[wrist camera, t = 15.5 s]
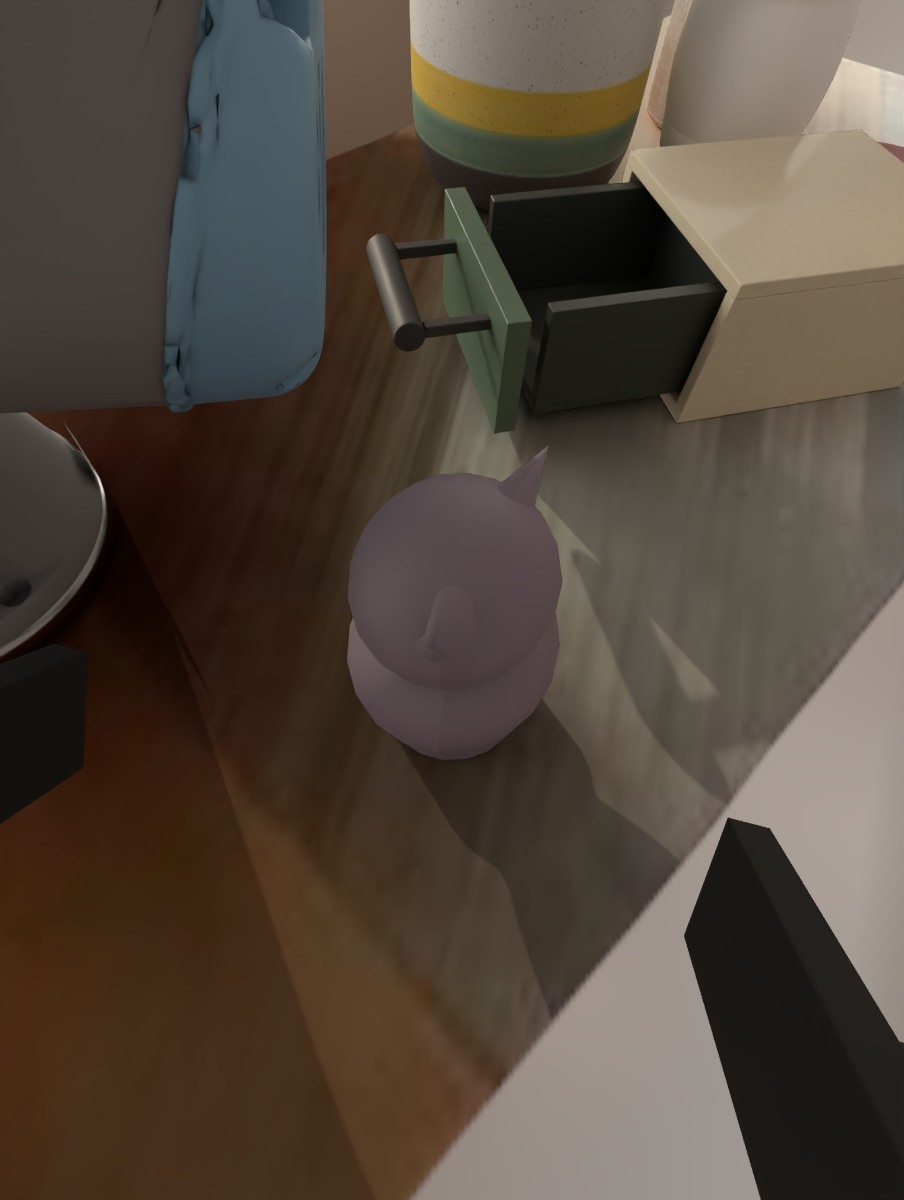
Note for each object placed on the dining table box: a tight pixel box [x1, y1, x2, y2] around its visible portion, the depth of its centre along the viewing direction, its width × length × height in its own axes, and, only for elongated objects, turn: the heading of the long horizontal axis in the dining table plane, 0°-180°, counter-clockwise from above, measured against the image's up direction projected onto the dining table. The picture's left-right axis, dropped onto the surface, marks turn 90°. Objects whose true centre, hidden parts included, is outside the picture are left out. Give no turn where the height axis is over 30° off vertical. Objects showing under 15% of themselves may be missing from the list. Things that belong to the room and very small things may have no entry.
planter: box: [647, 0, 693, 129], centre depth 52 cm, size 11×11×10 cm
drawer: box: [366, 181, 728, 433], centre depth 34 cm, size 20×12×7 cm, turn 104°
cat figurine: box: [347, 445, 562, 760], centre depth 21 cm, size 8×8×12 cm
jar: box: [660, 0, 860, 147], centre depth 42 cm, size 11×10×15 cm
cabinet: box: [622, 130, 904, 423], centre depth 36 cm, size 16×14×9 cm
